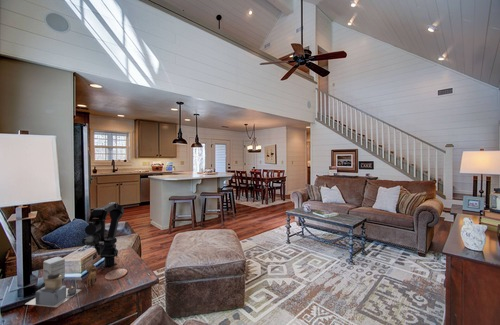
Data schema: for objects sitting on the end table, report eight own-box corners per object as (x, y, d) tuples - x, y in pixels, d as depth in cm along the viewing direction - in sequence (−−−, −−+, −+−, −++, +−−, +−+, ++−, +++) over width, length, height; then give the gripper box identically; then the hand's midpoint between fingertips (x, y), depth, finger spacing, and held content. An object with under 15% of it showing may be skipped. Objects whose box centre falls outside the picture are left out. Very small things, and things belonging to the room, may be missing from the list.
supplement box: (42, 282, 125) (42, 261, 125) (58, 276, 132) (58, 255, 132) (49, 286, 122) (49, 263, 122) (65, 279, 129) (65, 258, 129)
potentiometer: (66, 293, 114) (66, 287, 114) (75, 291, 116) (75, 284, 117) (68, 296, 111) (68, 289, 112) (77, 293, 114) (77, 286, 114)
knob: (53, 295, 112) (53, 271, 112) (62, 296, 111) (62, 272, 111) (44, 301, 108) (44, 276, 107) (53, 302, 107) (53, 277, 107)
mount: (53, 289, 120) (53, 274, 119) (82, 291, 118) (82, 277, 118) (24, 306, 106) (24, 290, 105) (56, 309, 104) (56, 293, 104)
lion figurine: (85, 279, 129) (85, 264, 129) (96, 276, 133) (96, 262, 133) (86, 291, 118) (86, 275, 118) (98, 288, 121) (98, 272, 121)
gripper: (73, 232, 126) (73, 259, 126) (103, 234, 124) (103, 262, 124) (89, 226, 137) (89, 251, 137) (117, 228, 135) (117, 253, 135)
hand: (99, 254), depth 133 cm, fingers closed
